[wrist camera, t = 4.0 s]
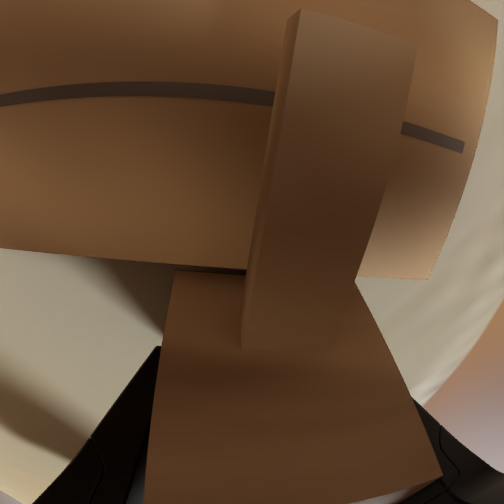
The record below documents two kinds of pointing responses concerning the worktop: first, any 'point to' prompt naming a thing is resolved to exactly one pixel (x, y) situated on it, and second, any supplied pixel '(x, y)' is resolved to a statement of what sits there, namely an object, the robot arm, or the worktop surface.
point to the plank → (211, 125)
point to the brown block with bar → (298, 306)
